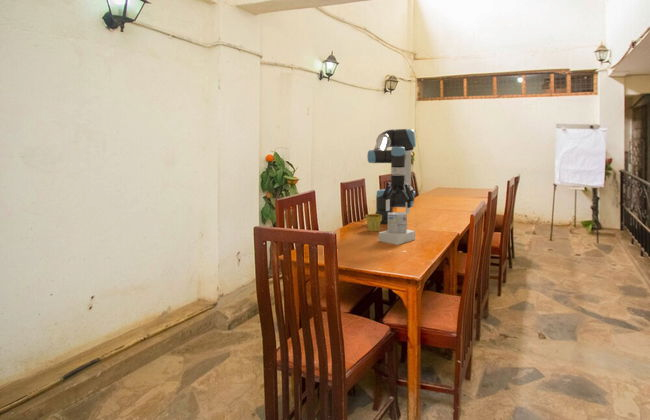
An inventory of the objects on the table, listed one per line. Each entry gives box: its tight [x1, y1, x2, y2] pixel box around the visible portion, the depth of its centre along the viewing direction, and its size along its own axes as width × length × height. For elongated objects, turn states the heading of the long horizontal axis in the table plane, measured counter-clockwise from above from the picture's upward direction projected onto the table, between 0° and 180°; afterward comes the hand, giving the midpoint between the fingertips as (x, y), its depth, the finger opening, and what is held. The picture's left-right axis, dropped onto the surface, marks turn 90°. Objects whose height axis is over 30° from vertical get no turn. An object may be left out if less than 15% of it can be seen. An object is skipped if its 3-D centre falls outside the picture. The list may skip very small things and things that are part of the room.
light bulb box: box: [387, 211, 408, 233], centre depth 229 cm, size 11×7×11 cm, turn 85°
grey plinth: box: [378, 229, 416, 246], centre depth 230 cm, size 13×17×5 cm
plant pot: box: [365, 213, 382, 232], centre depth 257 cm, size 10×10×10 cm
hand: (397, 212), depth 228 cm, fingers open, 13 cm apart
